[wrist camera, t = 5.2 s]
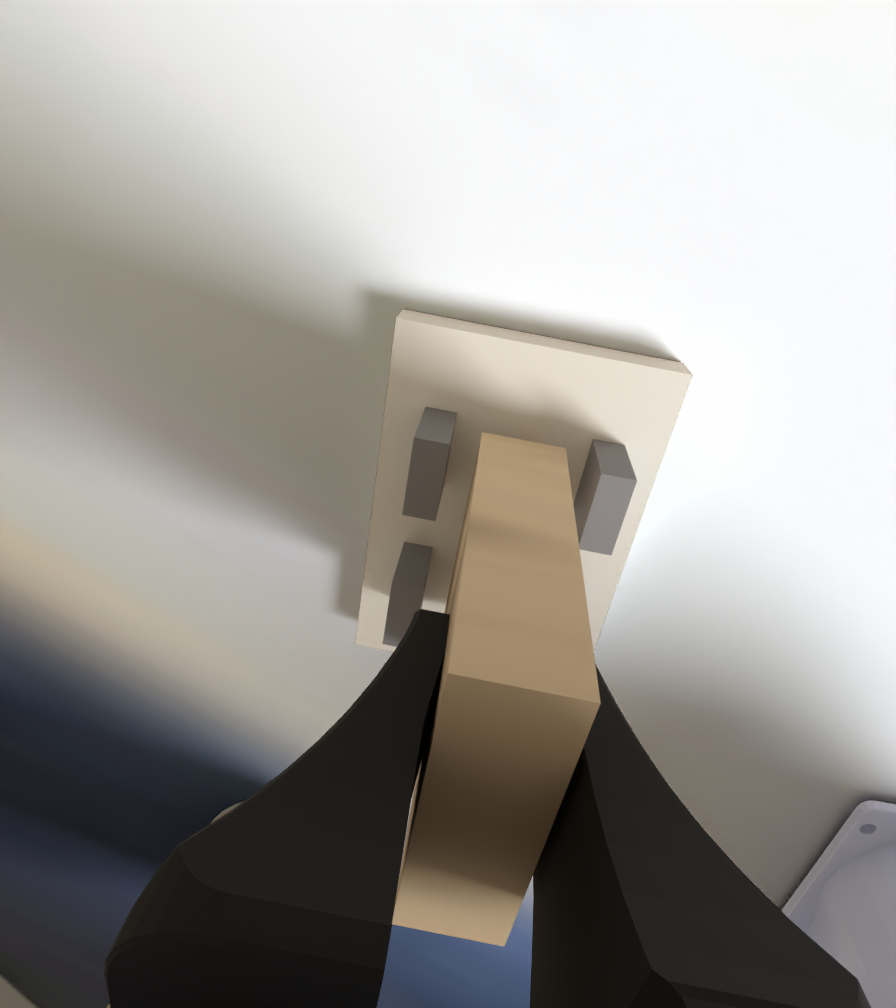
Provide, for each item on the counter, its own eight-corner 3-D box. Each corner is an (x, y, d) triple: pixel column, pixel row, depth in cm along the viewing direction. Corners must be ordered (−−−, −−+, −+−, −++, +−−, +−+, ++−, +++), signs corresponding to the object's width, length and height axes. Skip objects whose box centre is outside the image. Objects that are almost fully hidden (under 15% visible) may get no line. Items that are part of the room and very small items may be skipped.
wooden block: (511, 640, 18) (504, 946, 11) (441, 626, 18) (391, 924, 11) (565, 448, 15) (600, 703, 8) (482, 431, 15) (448, 673, 8)
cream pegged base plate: (577, 666, 21) (585, 740, 18) (362, 623, 21) (339, 691, 18) (682, 363, 16) (715, 403, 13) (402, 309, 16) (379, 339, 13)
